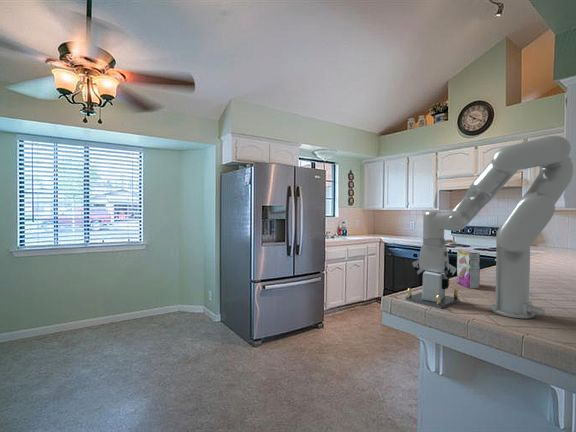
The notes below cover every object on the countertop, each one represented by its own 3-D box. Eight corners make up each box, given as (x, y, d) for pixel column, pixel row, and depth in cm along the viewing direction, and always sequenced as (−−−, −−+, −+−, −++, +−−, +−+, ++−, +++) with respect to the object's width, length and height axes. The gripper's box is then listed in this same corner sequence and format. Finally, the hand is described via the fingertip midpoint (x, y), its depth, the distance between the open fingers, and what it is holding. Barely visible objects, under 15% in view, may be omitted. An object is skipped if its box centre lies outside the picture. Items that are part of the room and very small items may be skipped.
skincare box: (439, 303, 116) (440, 275, 116) (421, 299, 120) (422, 272, 120) (446, 296, 124) (446, 270, 124) (428, 293, 128) (429, 268, 128)
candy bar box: (456, 282, 152) (456, 249, 151) (466, 282, 152) (467, 249, 151) (468, 288, 141) (469, 252, 140) (480, 288, 140) (480, 252, 140)
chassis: (459, 301, 122) (460, 289, 122) (440, 308, 113) (440, 296, 112) (425, 293, 133) (425, 282, 133) (405, 299, 124) (405, 288, 124)
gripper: (461, 244, 117) (460, 289, 118) (417, 240, 131) (417, 280, 132) (451, 245, 113) (450, 292, 113) (407, 241, 127) (407, 283, 127)
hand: (432, 286), depth 122 cm, fingers open, 9 cm apart
